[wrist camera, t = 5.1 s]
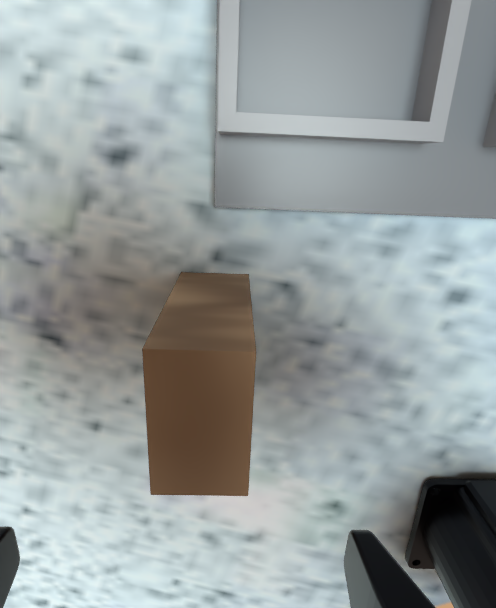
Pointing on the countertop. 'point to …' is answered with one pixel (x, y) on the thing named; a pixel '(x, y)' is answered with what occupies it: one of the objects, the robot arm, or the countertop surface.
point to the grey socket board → (357, 106)
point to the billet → (201, 387)
